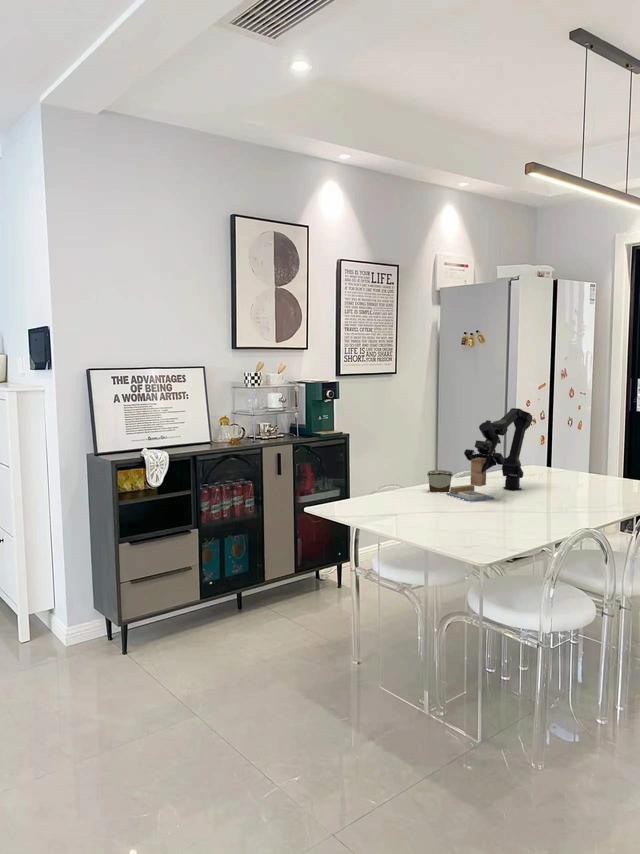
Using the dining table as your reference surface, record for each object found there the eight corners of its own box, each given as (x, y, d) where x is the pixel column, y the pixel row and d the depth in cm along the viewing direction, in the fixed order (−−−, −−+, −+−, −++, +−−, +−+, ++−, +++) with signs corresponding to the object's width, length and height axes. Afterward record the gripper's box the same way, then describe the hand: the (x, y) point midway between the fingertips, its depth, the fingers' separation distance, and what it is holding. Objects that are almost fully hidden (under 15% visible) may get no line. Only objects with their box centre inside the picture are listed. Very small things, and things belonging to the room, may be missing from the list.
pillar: (476, 483, 319) (477, 457, 318) (485, 484, 316) (486, 459, 315) (470, 484, 316) (471, 459, 314) (480, 486, 312) (480, 460, 311)
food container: (451, 490, 337) (451, 470, 336) (452, 492, 331) (452, 472, 330) (425, 489, 338) (426, 469, 337) (426, 492, 332) (427, 471, 331)
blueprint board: (469, 492, 333) (470, 484, 332) (493, 499, 318) (493, 490, 317) (446, 494, 326) (446, 486, 326) (469, 502, 311) (470, 493, 311)
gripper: (466, 432, 322) (452, 458, 316) (502, 435, 310) (489, 462, 303) (474, 446, 329) (461, 472, 322) (510, 451, 316) (497, 477, 310)
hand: (476, 471), depth 314 cm, fingers closed on pillar, 5 cm apart
